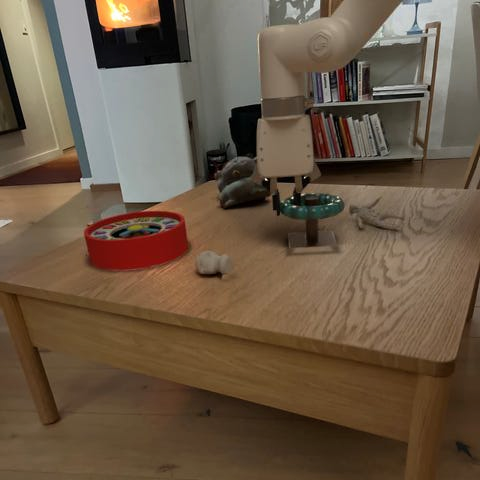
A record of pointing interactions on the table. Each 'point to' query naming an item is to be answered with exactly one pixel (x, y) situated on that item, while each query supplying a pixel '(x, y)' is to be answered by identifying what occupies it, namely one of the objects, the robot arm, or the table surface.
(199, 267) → the pale two-lobed sculpture
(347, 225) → the table surface
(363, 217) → the soldier figure
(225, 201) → the grey stacked animal sculpture
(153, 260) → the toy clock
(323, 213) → the bracelet
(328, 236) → the stand
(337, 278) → the table surface
